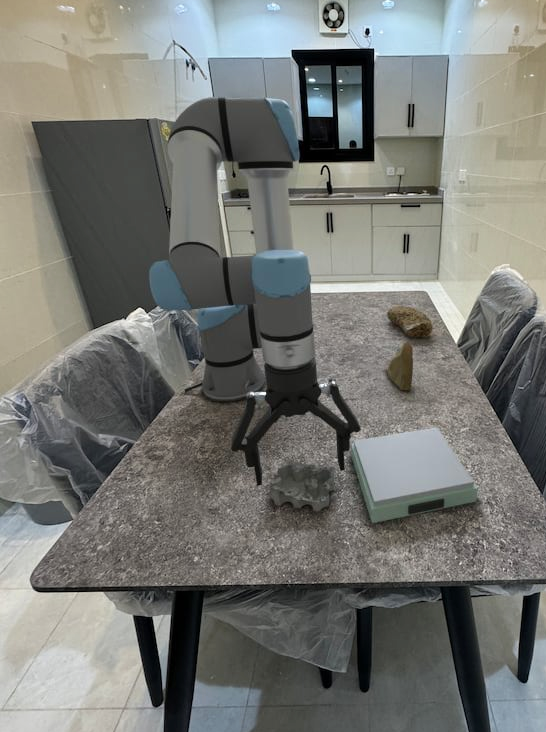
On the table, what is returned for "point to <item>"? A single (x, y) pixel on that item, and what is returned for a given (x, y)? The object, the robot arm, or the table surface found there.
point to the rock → (402, 367)
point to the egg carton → (302, 485)
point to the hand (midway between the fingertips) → (301, 472)
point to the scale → (410, 474)
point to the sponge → (410, 321)
